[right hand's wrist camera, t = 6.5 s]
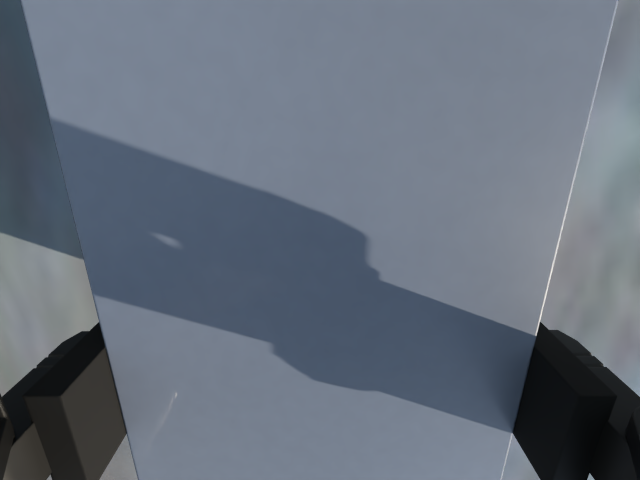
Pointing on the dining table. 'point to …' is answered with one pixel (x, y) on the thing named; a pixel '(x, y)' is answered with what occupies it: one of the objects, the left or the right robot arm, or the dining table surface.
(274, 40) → the cabinet
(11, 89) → the dining table surface
